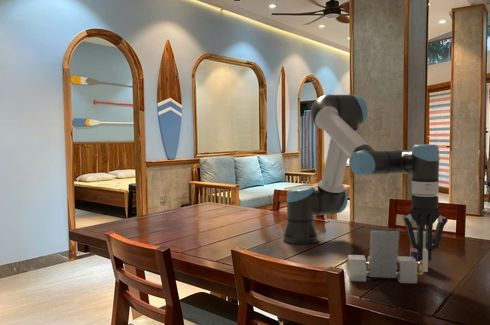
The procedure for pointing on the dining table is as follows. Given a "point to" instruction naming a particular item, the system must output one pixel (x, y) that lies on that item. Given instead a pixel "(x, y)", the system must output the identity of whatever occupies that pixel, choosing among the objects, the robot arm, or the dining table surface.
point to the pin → (419, 267)
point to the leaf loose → (383, 254)
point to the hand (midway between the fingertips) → (424, 270)
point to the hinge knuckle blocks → (404, 276)
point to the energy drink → (413, 250)
